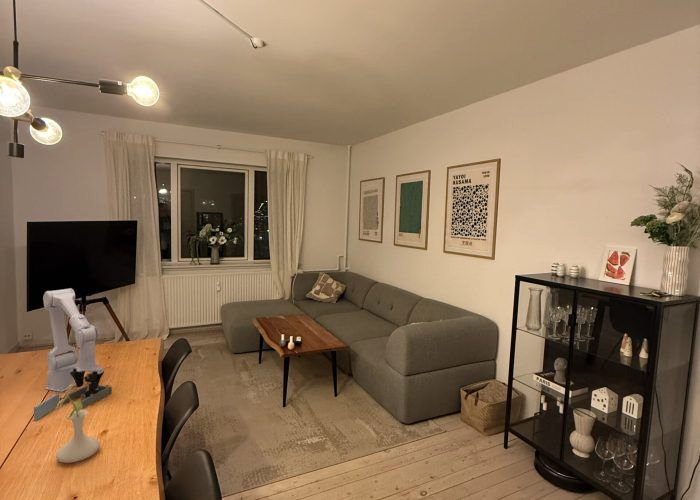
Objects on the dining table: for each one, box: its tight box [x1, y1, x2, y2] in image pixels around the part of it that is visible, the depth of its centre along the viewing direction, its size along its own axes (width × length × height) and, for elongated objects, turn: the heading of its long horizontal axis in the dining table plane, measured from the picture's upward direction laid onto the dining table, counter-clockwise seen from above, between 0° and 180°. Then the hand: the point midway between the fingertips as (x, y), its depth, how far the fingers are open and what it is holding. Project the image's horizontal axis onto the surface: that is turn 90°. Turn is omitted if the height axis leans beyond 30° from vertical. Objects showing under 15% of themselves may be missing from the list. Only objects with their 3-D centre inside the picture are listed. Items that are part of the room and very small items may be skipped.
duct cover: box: [33, 392, 60, 421], centre depth 142 cm, size 12×1×5 cm, turn 2°
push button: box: [80, 372, 99, 399], centre depth 155 cm, size 7×5×10 cm
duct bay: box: [59, 384, 113, 410], centre depth 154 cm, size 11×14×3 cm
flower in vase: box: [54, 384, 101, 464], centre depth 116 cm, size 13×11×25 cm
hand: (87, 387), depth 154 cm, fingers open, 7 cm apart
